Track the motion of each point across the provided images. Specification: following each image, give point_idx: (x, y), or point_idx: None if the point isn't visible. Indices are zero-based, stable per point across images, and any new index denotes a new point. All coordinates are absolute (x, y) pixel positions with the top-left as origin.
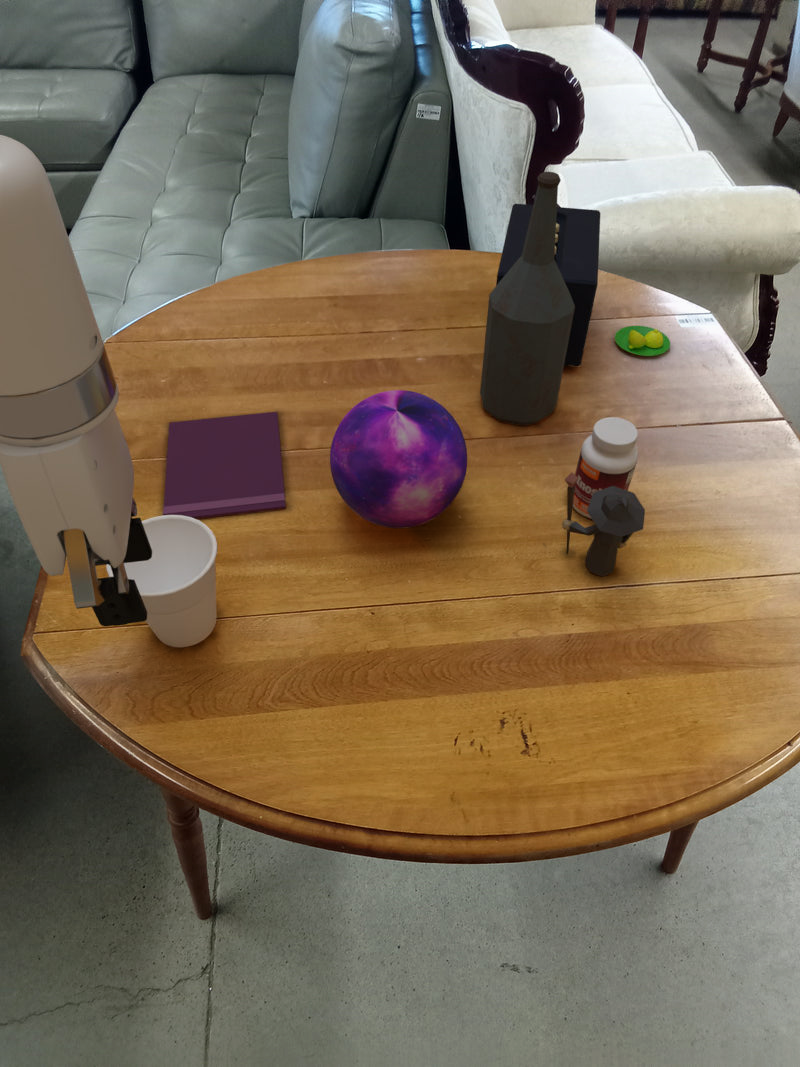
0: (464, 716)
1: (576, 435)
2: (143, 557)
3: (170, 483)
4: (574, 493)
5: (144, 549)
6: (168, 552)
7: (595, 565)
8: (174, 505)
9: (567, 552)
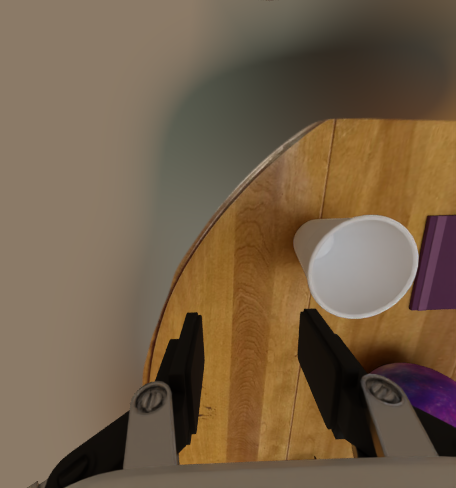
0: (215, 392)
1: None
2: (299, 356)
3: None
4: None
5: (305, 374)
6: (376, 250)
7: None
8: (445, 225)
9: (314, 457)
